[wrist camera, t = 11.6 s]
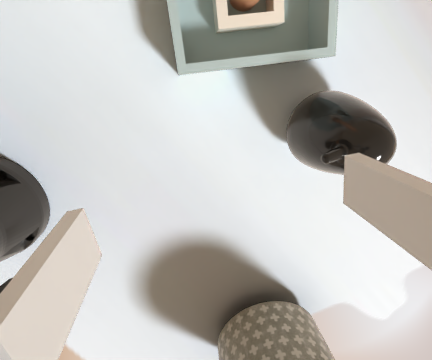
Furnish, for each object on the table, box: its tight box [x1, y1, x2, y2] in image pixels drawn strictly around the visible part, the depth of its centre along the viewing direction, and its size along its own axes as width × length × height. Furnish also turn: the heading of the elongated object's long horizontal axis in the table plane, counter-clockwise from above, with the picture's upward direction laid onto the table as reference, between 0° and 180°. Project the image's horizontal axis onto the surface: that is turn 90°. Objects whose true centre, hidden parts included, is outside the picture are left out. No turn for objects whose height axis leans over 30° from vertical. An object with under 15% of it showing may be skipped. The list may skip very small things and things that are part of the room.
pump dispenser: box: [287, 90, 397, 175], centre depth 32 cm, size 10×10×15 cm
